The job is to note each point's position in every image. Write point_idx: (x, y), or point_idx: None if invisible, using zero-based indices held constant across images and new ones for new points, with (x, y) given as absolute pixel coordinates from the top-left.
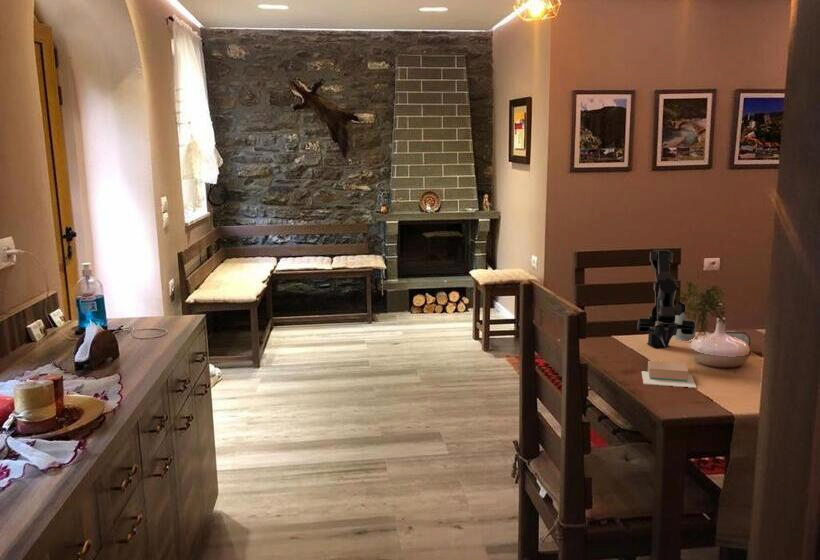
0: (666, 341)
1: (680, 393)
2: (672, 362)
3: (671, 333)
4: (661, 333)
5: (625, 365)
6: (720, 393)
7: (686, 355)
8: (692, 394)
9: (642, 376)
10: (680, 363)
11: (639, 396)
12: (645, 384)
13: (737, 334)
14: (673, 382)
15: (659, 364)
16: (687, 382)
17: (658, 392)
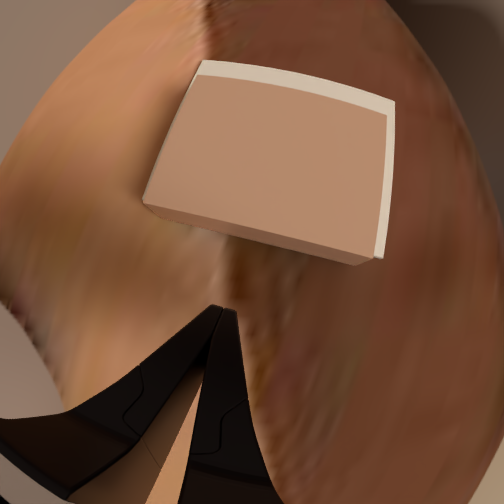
0: (206, 343)
1: (279, 31)
2: (218, 215)
3: (96, 403)
4: (250, 447)
5: (420, 371)
6: (150, 42)
7: None
8: (243, 26)
9: (392, 175)
10: (175, 195)
11: (403, 35)
12: (386, 101)
13: None
14: None
15: (320, 174)
16: None
17: (349, 43)
